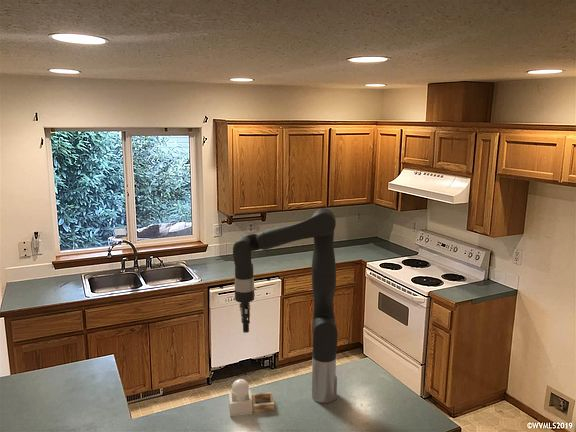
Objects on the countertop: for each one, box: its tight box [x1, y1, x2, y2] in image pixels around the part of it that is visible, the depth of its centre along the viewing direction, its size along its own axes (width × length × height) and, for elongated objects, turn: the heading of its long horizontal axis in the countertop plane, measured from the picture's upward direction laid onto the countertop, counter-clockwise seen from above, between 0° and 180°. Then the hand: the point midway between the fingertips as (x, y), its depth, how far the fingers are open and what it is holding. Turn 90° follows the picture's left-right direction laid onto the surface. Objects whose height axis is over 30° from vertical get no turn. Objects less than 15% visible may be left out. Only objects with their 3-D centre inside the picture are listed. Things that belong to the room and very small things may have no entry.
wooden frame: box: [251, 391, 276, 414], centre depth 176 cm, size 8×8×3 cm
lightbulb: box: [231, 378, 250, 401], centre depth 173 cm, size 6×6×11 cm
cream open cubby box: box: [228, 388, 254, 417], centre depth 174 cm, size 8×8×5 cm
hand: (245, 327), depth 179 cm, fingers open, 8 cm apart
